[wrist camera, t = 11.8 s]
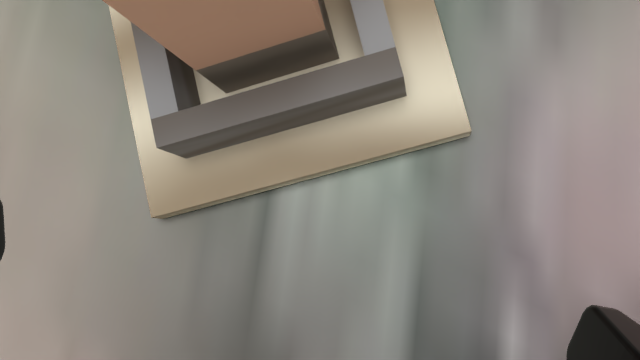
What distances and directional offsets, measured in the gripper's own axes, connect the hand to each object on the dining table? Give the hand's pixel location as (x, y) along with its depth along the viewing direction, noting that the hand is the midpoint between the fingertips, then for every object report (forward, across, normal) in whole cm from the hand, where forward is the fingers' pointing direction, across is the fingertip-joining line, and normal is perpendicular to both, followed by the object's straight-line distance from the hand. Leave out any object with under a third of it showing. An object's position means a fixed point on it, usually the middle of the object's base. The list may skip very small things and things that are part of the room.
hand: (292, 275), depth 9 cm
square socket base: (+16, +2, 0) cm, 16 cm away
